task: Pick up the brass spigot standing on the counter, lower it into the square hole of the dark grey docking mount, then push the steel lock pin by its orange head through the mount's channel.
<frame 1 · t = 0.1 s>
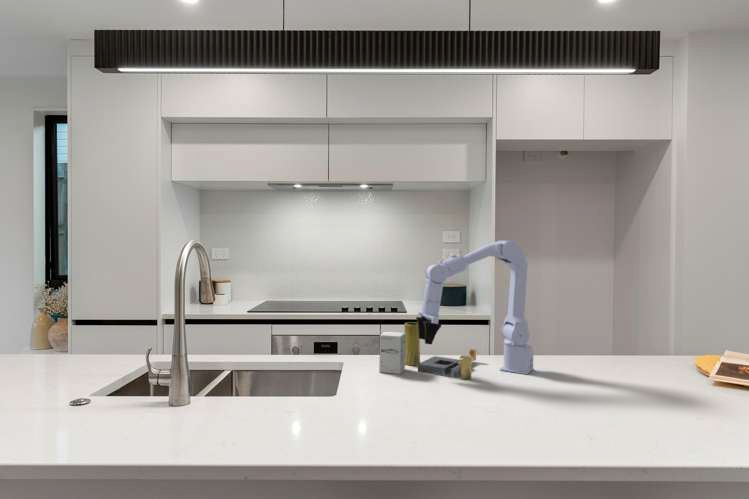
hand: (425, 341, 168), 10 cm above the counter, tool pointing down, fingers open, 7 cm apart
supplement box: (392, 371, 171), on the counter
spigot: (465, 378, 163), on the counter
vase: (411, 364, 181), on the counter
socket: (443, 369, 173), on the counter
lock pin: (466, 358, 178), point 3 cm above the counter, slide at 0.0 cm
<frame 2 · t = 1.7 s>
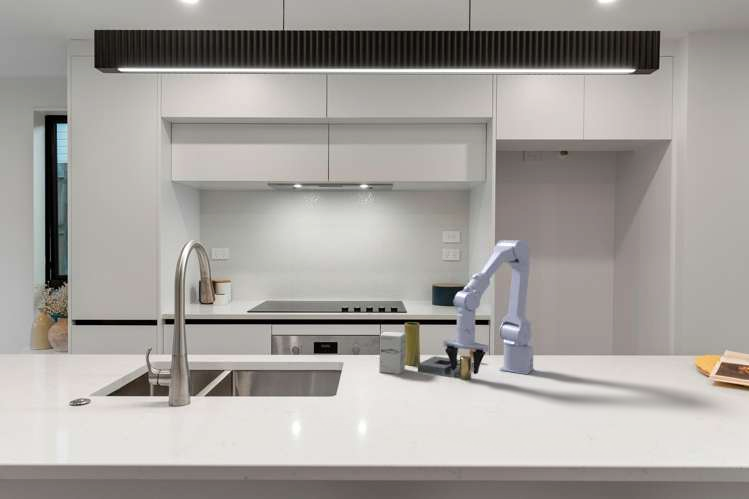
hand: (464, 371, 163), 2 cm above the counter, tool pointing down, fingers open, 7 cm apart
nothing on the counter moved.
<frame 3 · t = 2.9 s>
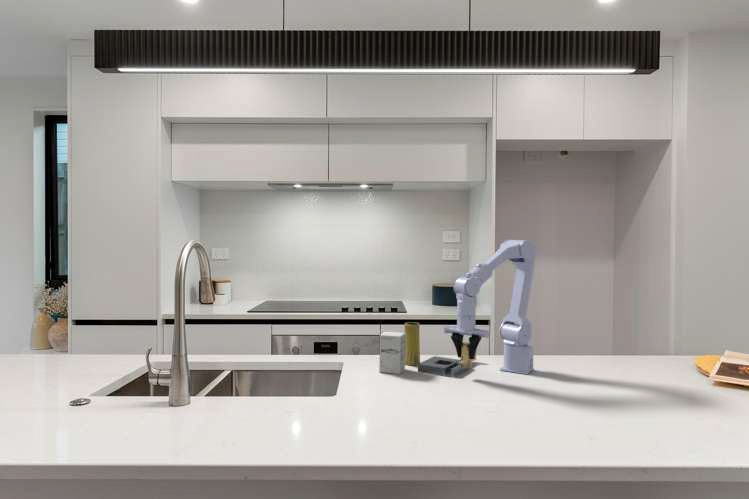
hand: (466, 357, 163), 7 cm above the counter, tool pointing down, fingers closed on spigot, 3 cm apart
spigot: (466, 365, 163), point 4 cm above the counter, touching gripper
everything else where it was.
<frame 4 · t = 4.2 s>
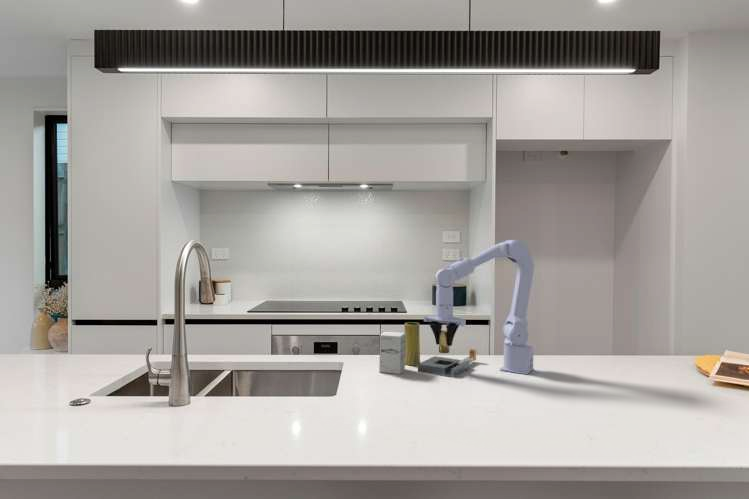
hand: (444, 344, 172), 9 cm above the counter, tool pointing down, fingers closed on spigot, 3 cm apart
spigot: (444, 352, 172), point 6 cm above the counter, touching gripper
everything else where it was.
when the fingers open (3 cm above the counter, at t = 5.5 s): spigot stays where it is, resting in socket.
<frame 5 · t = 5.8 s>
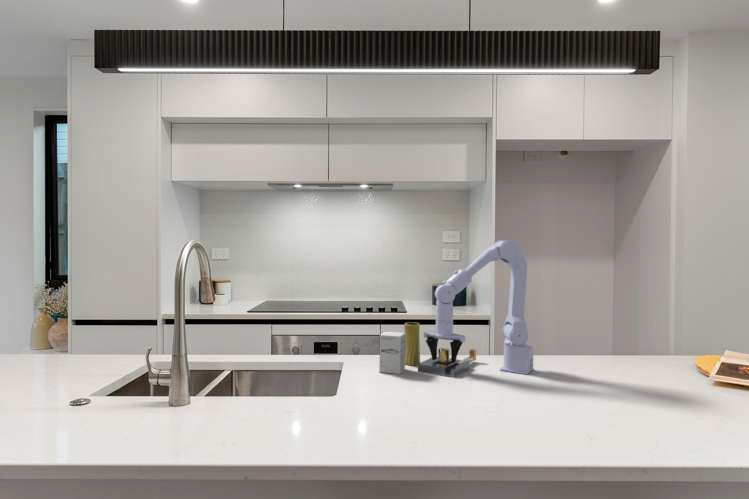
hand: (443, 360, 173), 3 cm above the counter, tool pointing down, fingers open, 6 cm apart
spigot: (443, 369, 173), resting in socket
everything else where it was.
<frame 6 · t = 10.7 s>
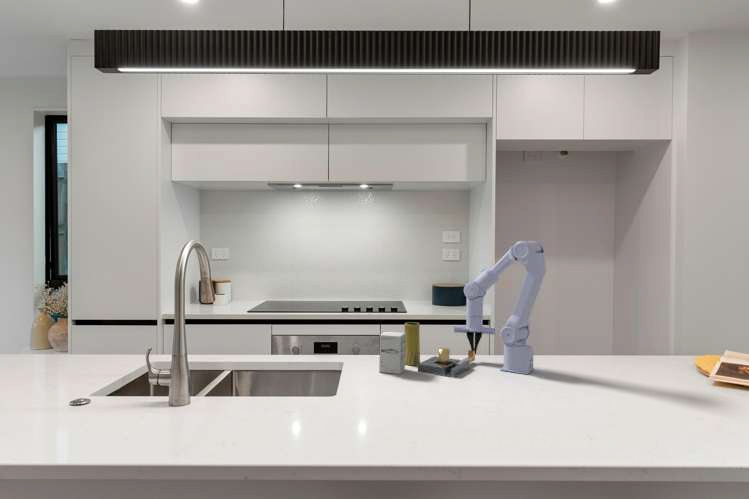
hand: (474, 353, 184), 3 cm above the counter, tool pointing down, fingers closed
lock pin: (465, 358, 177), point 3 cm above the counter, slide at 1.3 cm, touching gripper
everything else where it was.
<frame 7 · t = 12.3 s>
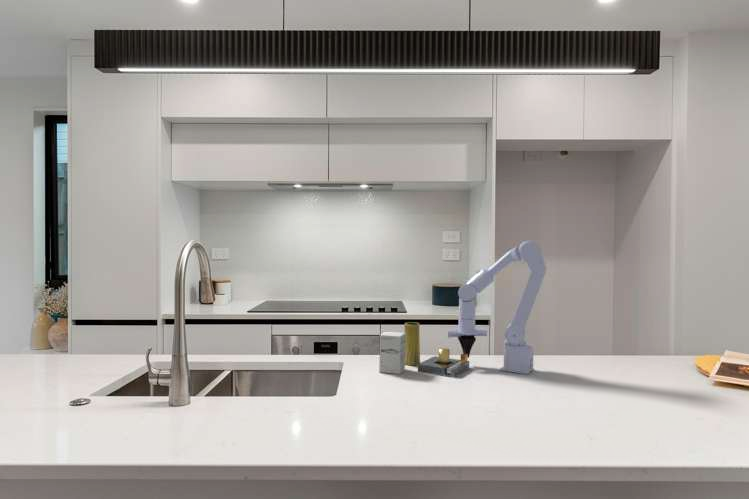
hand: (466, 357, 178), 3 cm above the counter, tool pointing down, fingers closed
lock pin: (457, 363, 171), point 3 cm above the counter, slide at 8.3 cm, touching gripper
everything else where it was.
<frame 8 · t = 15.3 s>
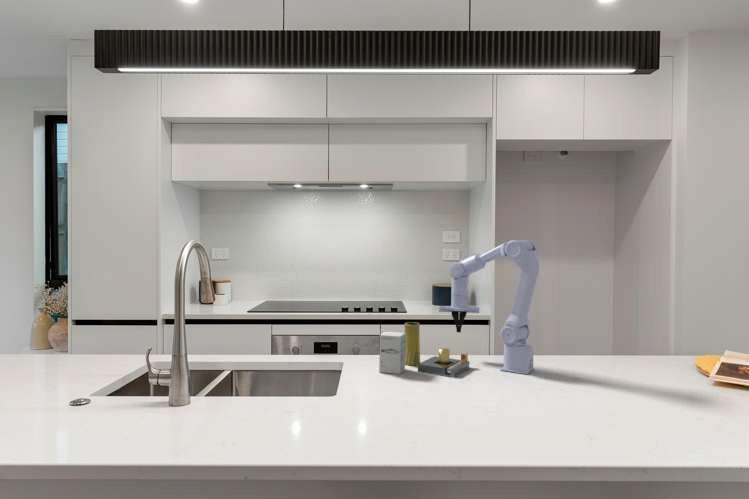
hand: (458, 331, 188), 10 cm above the counter, tool pointing down, fingers closed
lock pin: (457, 363, 171), point 3 cm above the counter, slide at 8.0 cm
everything else where it was.
at the end: spigot 0.1 cm off-centre on the socket, point 0.0 cm above the socket's base; spigot tilted 0°; lock pin slide at 8.0 cm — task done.
